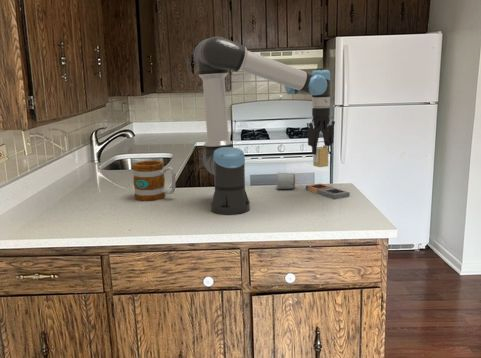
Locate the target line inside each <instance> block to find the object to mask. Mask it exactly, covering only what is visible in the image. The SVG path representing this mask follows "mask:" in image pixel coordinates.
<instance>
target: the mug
mask: <svg viewBox="0 0 481 358" xmlns="http://www.w3.org/2000/svg"><path fill="white" fill-rule="evenodd" d="M164 163H165V162H164V161H160V160H143V161H137V162H136V161H135V162H134V163H132V166H131V167H132V170H133V188H134V200H136V201H139V202H155V201H159V200H160V201H161V200H164V199H165V198H166V194H167V195H172V194H174V193H175V190H176V170H175V168H173V167H172V166H168V167H165V168H164ZM168 170H169V171H171V191H170V190H167V189H166V188H165V183H166V182H165V173H167V172H168Z"/></svg>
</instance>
